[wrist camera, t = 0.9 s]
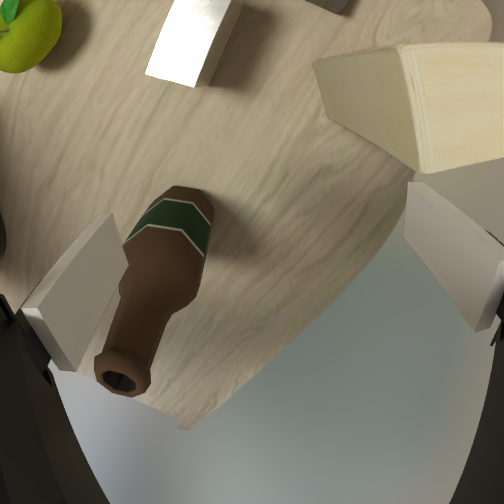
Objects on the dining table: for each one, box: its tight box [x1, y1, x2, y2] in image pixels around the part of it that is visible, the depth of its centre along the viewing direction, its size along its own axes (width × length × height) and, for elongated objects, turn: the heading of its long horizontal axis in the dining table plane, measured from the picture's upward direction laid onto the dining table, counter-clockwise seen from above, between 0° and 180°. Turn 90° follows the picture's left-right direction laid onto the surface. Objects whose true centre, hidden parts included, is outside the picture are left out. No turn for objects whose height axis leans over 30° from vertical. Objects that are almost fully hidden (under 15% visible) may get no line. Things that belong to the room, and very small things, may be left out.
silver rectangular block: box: [146, 0, 244, 87], centre depth 23 cm, size 4×10×10 cm, turn 158°
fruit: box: [0, 0, 62, 73], centre depth 20 cm, size 9×9×10 cm
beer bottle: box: [94, 186, 214, 397], centre depth 27 cm, size 8×8×24 cm
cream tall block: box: [312, 41, 504, 175], centre depth 21 cm, size 8×7×21 cm
